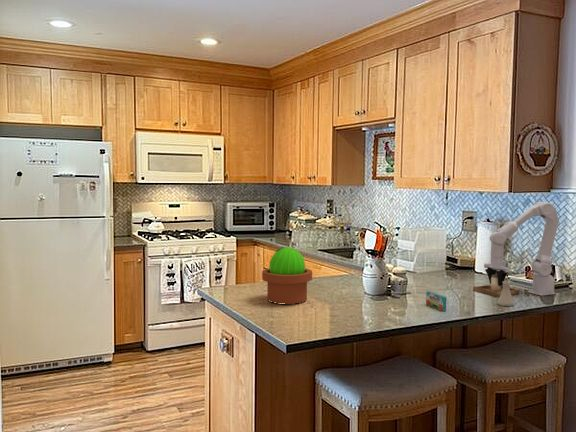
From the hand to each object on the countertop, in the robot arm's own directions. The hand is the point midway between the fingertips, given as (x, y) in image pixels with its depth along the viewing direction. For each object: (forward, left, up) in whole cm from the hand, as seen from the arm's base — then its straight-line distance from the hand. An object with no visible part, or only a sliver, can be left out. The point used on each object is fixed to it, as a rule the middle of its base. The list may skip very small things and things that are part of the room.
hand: (496, 284), depth 249 cm
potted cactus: (+100, -23, -4) cm, 103 cm away
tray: (0, 0, -4) cm, 4 cm away
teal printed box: (+46, +13, -4) cm, 48 cm away
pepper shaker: (0, 0, -3) cm, 3 cm away
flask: (+14, +20, -4) cm, 25 cm away
